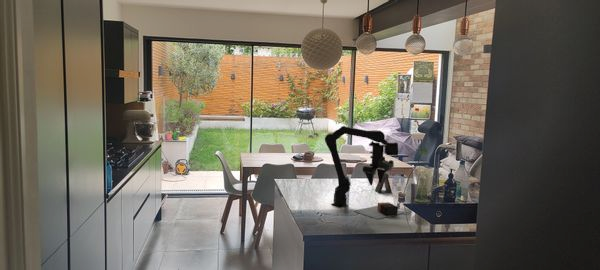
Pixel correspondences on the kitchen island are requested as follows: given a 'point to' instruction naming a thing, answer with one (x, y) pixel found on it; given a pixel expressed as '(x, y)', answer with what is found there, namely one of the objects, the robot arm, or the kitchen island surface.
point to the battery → (387, 209)
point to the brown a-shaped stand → (387, 185)
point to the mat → (373, 212)
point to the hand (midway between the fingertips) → (375, 183)
